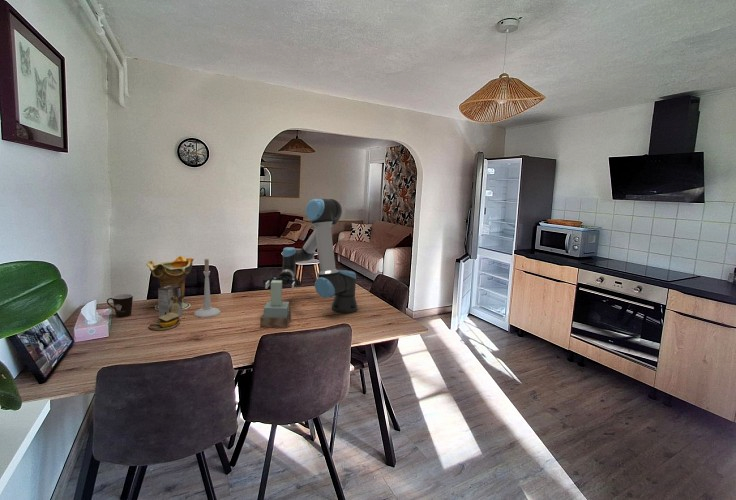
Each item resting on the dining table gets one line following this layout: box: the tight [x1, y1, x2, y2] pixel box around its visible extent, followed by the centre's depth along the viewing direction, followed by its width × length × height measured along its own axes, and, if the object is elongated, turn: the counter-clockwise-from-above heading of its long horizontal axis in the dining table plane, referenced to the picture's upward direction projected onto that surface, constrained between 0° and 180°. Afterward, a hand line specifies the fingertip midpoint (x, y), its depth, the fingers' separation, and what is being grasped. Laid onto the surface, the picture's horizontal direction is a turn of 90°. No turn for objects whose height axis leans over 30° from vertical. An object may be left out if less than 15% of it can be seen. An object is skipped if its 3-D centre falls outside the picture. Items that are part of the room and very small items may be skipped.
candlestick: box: [193, 258, 221, 318], centre depth 190 cm, size 13×13×30 cm
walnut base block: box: [259, 309, 292, 329], centre depth 184 cm, size 13×13×5 cm
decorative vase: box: [146, 255, 194, 311], centre depth 197 cm, size 21×23×28 cm
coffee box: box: [157, 285, 183, 318], centre depth 182 cm, size 9×6×16 cm
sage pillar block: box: [270, 280, 283, 306], centre depth 182 cm, size 5×5×12 cm
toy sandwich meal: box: [148, 312, 181, 331], centre depth 172 cm, size 12×14×5 cm
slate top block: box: [263, 300, 290, 318], centre depth 183 cm, size 11×11×5 cm
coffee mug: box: [106, 293, 134, 319], centre depth 183 cm, size 12×9×10 cm
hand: (279, 286), depth 187 cm, fingers open, 13 cm apart
